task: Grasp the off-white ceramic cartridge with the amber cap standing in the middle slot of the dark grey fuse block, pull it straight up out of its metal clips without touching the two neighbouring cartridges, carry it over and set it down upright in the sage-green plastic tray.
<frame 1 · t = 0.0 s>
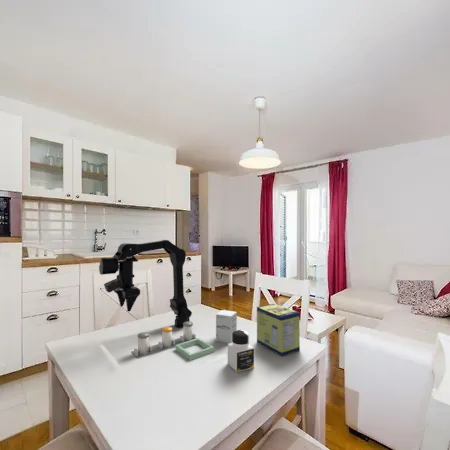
hand: (125, 308, 112), 15 cm above the table, fingers open, 9 cm apart
tray: (194, 353, 102), on the table
fuse block: (166, 348, 106), on the table
supplement box: (226, 342, 113), on the table
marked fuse: (166, 345, 106), point 1 cm above the table, touching fuse block
protein box: (277, 346, 109), on the table
medicine bottle: (240, 366, 93), on the table
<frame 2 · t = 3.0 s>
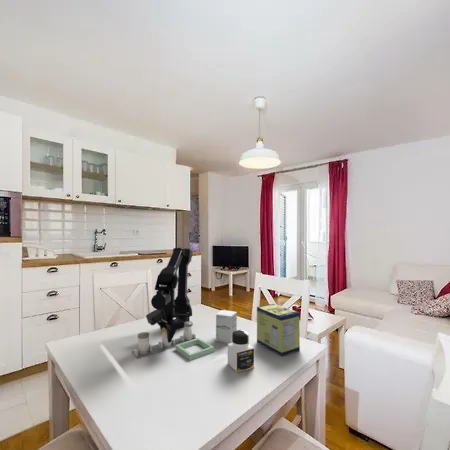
hand: (166, 340, 106), 3 cm above the table, fingers closed on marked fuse, 4 cm apart
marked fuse: (166, 345, 106), point 1 cm above the table, touching fuse block, gripper
everything else where it was.
when the fingers open (3 cm above the table, at t = 8.1 s): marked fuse stays where it is, resting on tray.
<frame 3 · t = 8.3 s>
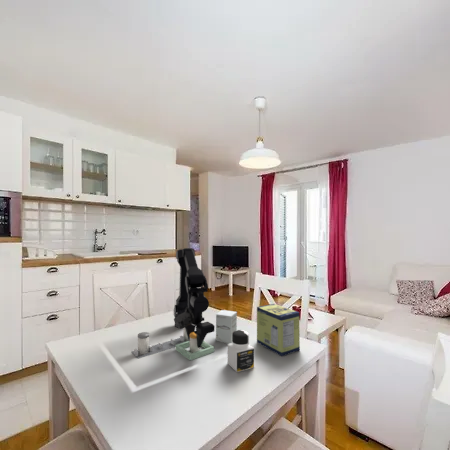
hand: (194, 344, 102), 3 cm above the table, fingers open, 6 cm apart
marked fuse: (194, 351, 102), point 1 cm above the table, touching tray
everything else where it was.
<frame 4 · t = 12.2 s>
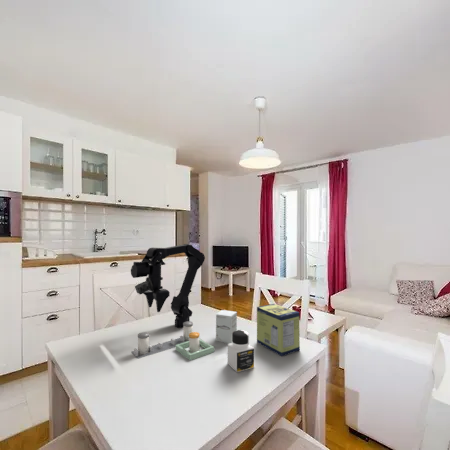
hand: (154, 309, 118), 12 cm above the table, fingers open, 9 cm apart
nothing on the table moved.
at the end: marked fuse inside the target area on the tray (0.1 cm from its centre), point 0.7 cm above the tray's base; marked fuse tilted 2°; the gripper is holding nothing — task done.
